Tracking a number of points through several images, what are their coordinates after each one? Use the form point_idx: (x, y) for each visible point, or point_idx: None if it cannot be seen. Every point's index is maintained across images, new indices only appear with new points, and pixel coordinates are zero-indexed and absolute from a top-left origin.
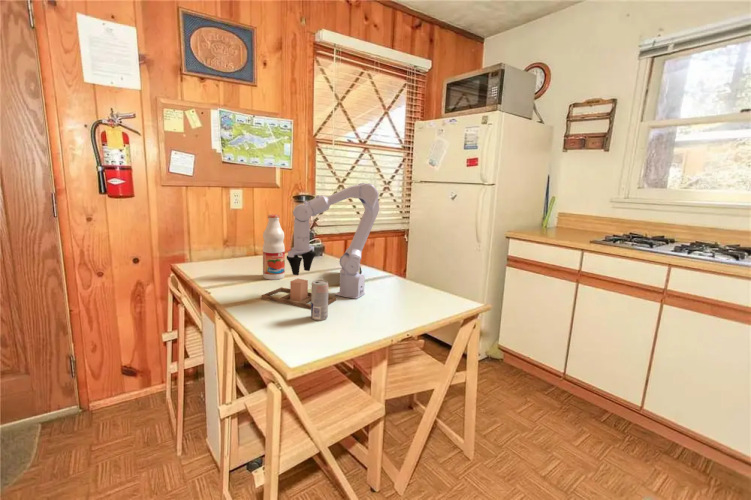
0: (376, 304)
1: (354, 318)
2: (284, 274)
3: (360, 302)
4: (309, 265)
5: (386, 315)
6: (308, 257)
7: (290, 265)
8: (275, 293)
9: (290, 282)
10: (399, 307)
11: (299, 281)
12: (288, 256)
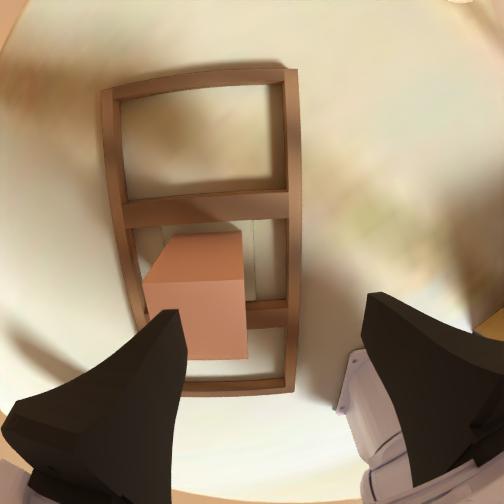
0: (314, 449)
1: (185, 452)
2: (467, 1)
3: (312, 427)
4: (382, 374)
5: (250, 476)
6: (423, 427)
7: (104, 362)
8: (216, 86)
9: (144, 279)
10: (315, 472)
11: (185, 335)
12: (4, 465)
